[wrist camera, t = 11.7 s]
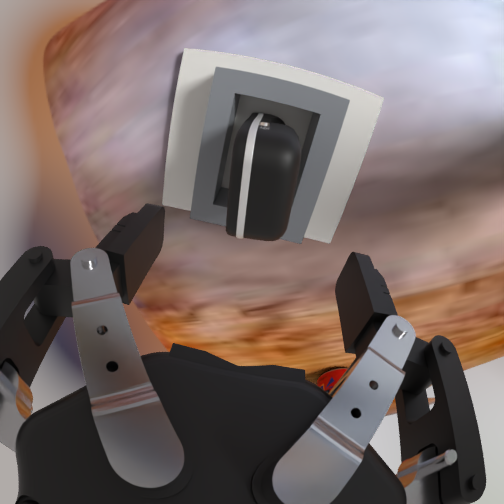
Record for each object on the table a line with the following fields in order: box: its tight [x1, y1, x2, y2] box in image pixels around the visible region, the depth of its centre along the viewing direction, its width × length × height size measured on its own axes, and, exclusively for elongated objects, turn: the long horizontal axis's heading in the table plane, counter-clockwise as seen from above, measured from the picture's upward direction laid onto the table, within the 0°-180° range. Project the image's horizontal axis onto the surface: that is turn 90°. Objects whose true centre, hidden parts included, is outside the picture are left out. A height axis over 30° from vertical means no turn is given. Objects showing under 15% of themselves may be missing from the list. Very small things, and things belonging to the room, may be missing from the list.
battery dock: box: [162, 48, 384, 244], centre depth 23 cm, size 18×16×5 cm
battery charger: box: [226, 112, 301, 241], centre depth 19 cm, size 7×4×11 cm, turn 173°
